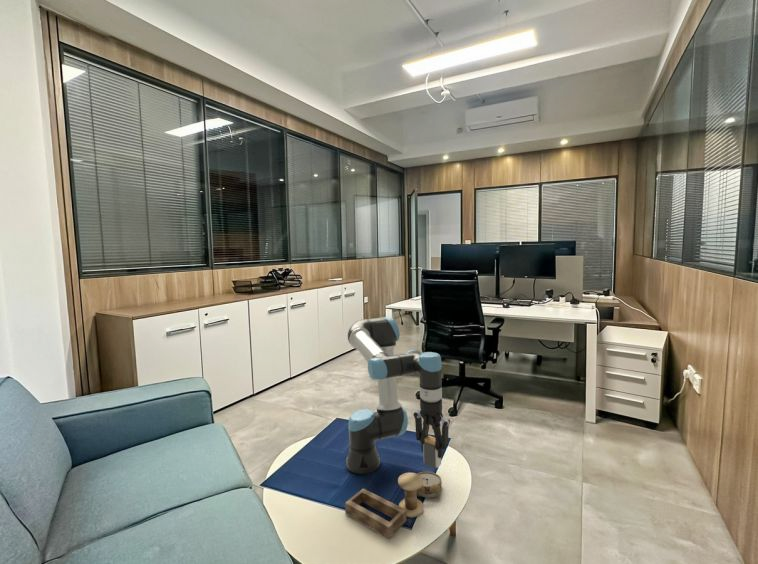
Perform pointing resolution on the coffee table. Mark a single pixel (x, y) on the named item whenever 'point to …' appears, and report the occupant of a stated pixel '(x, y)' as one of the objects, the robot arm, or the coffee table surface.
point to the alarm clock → (429, 485)
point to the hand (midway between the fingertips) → (432, 463)
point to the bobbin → (411, 494)
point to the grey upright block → (429, 451)
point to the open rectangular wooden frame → (372, 519)
